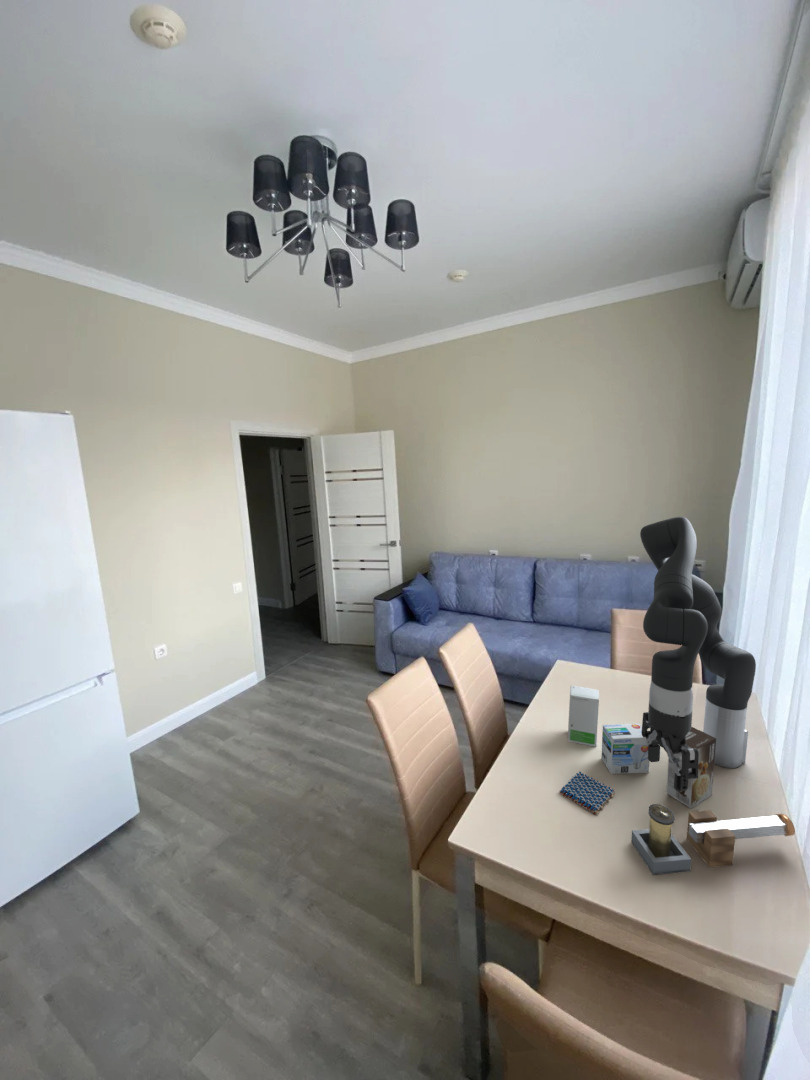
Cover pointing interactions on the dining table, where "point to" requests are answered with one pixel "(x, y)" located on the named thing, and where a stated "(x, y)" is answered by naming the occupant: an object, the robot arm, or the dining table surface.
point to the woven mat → (587, 792)
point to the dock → (661, 865)
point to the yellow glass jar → (660, 830)
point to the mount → (712, 841)
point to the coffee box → (704, 782)
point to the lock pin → (746, 827)
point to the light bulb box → (624, 749)
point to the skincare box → (583, 715)
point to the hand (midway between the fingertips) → (666, 774)
